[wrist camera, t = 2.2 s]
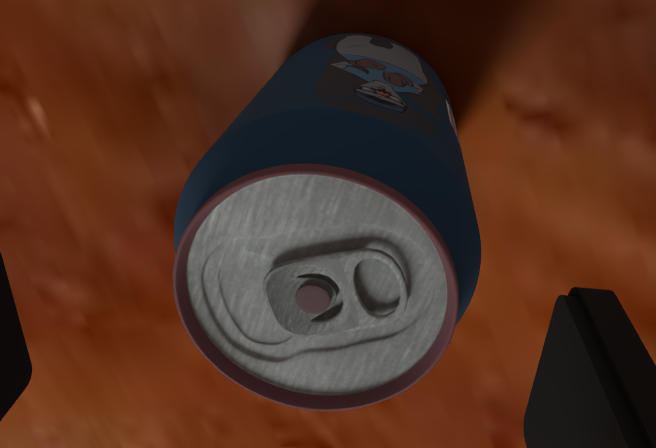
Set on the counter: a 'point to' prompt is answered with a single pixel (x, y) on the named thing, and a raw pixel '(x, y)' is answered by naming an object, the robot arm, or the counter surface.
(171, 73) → the counter surface
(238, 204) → the soda can
